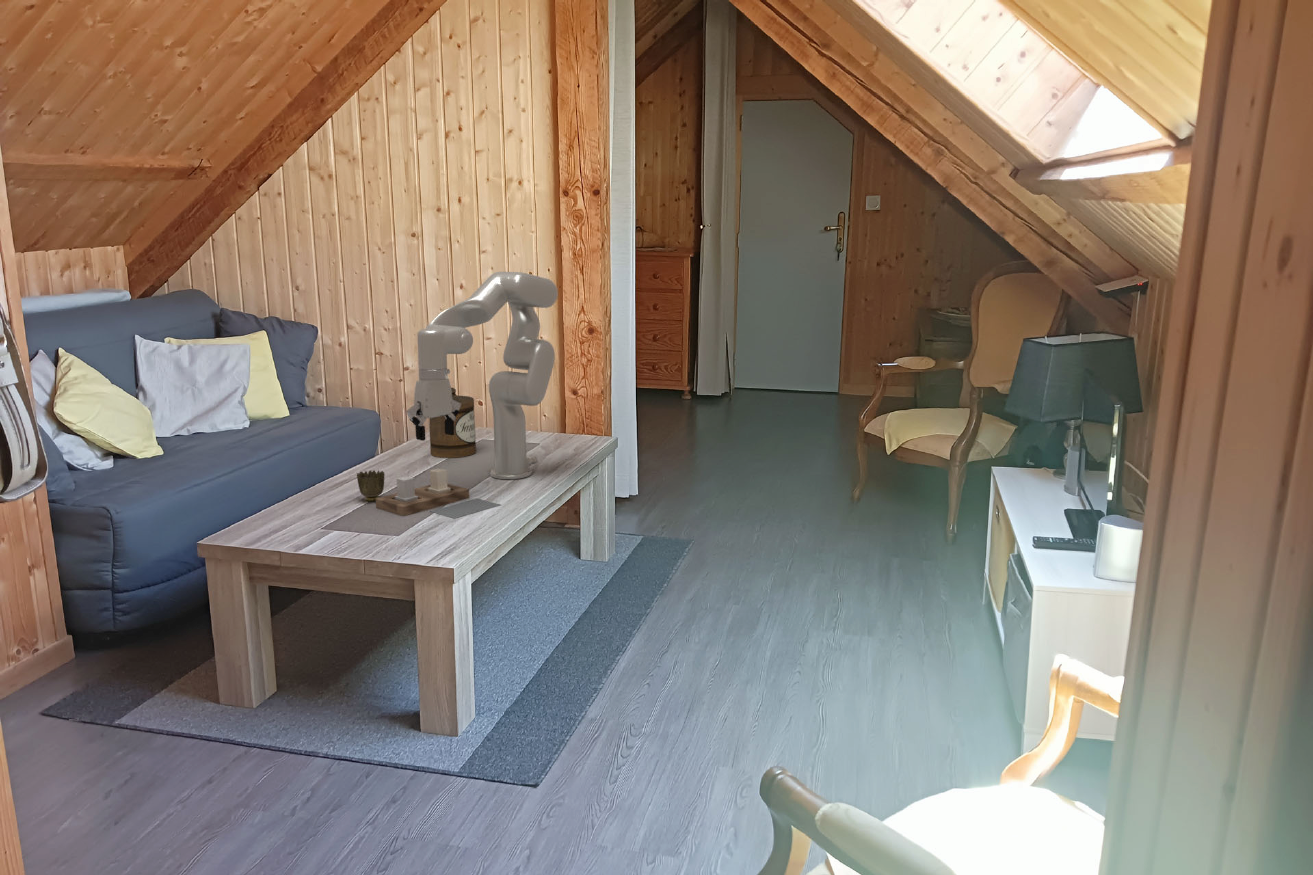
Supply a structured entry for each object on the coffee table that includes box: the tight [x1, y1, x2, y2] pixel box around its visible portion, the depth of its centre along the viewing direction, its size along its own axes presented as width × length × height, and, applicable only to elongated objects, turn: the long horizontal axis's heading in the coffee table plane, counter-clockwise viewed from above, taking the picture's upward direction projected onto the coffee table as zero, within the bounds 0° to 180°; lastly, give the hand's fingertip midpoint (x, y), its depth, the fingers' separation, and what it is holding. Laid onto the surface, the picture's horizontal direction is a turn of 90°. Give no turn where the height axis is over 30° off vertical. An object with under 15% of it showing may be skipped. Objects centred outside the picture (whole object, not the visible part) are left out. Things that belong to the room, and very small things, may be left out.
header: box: [375, 483, 470, 517], centre depth 270 cm, size 22×12×3 cm, turn 140°
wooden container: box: [428, 387, 477, 459], centre depth 327 cm, size 15×15×22 cm
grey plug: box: [395, 475, 418, 503], centre depth 266 cm, size 4×5×8 cm
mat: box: [430, 497, 501, 520], centre depth 266 cm, size 16×10×1 cm, turn 140°
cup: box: [356, 469, 386, 502], centre depth 273 cm, size 8×7×8 cm
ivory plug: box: [428, 468, 451, 494], centre depth 274 cm, size 4×5×8 cm
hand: (435, 437), depth 271 cm, fingers open, 9 cm apart
